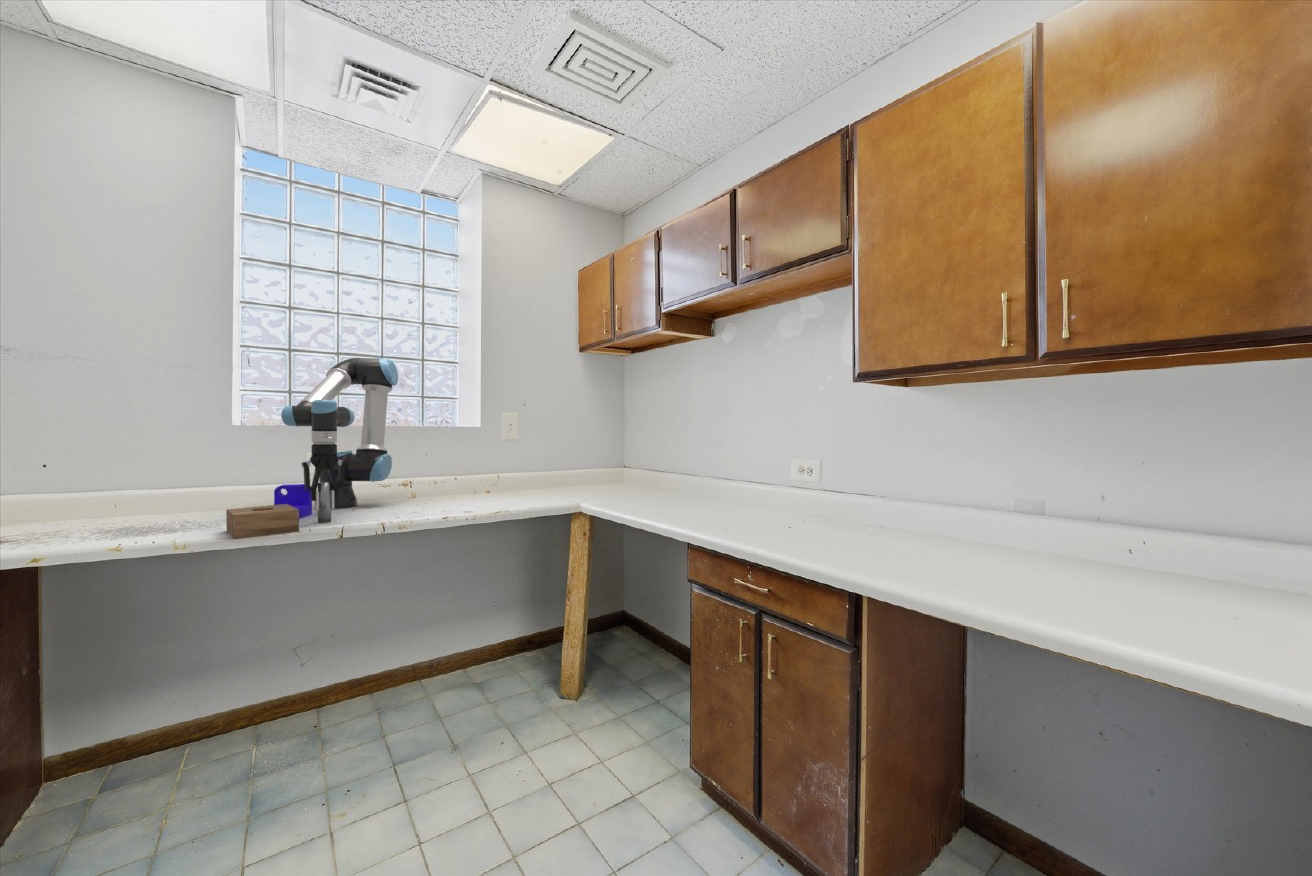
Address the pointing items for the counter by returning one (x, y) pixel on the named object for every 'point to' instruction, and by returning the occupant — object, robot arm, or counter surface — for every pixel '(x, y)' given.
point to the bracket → (295, 498)
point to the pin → (324, 502)
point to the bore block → (262, 520)
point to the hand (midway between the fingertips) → (324, 508)
